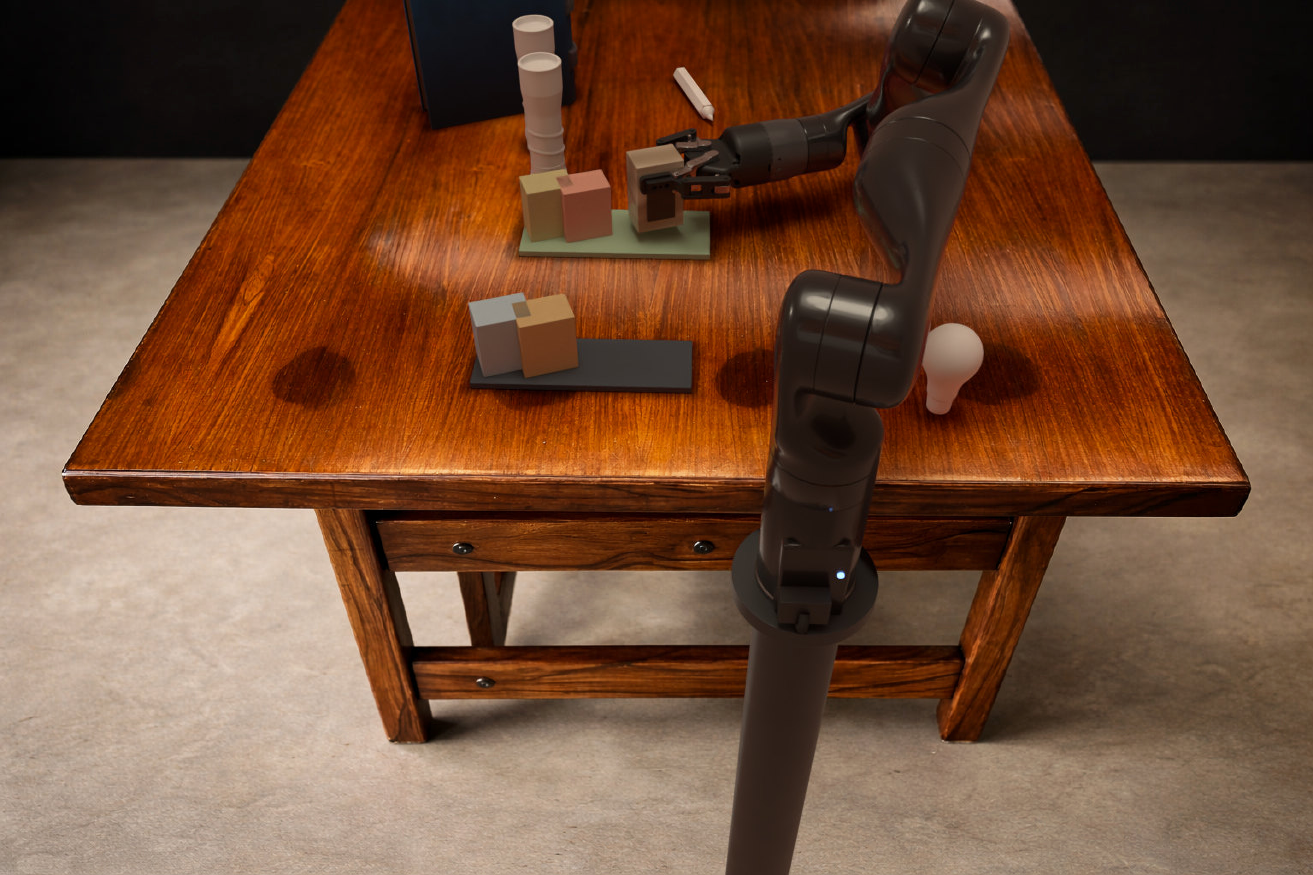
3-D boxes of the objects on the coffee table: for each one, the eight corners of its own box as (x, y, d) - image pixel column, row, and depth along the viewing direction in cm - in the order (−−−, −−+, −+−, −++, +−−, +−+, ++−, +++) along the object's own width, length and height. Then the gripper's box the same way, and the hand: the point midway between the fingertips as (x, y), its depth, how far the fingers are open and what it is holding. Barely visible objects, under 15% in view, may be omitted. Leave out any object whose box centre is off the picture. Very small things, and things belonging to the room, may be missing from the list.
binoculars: (571, 197, 139) (563, 69, 126) (531, 200, 138) (518, 72, 125) (560, 135, 151) (551, 13, 138) (523, 138, 150) (511, 16, 138)
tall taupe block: (684, 226, 129) (684, 161, 123) (639, 234, 128) (637, 169, 122) (672, 207, 132) (672, 143, 126) (628, 215, 131) (625, 151, 125)
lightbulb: (978, 417, 108) (1003, 336, 100) (935, 439, 105) (956, 357, 98) (938, 385, 111) (958, 303, 104) (895, 405, 109) (913, 323, 101)
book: (568, 78, 164) (553, -130, 143) (585, 101, 158) (573, -111, 137) (419, 104, 158) (381, -108, 137) (432, 130, 152) (394, -88, 131)
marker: (711, 131, 153) (678, 83, 164) (723, 123, 153) (689, 76, 163) (704, 118, 151) (670, 71, 162) (715, 110, 151) (681, 63, 162)
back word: (709, 260, 128) (711, 205, 123) (518, 256, 129) (512, 202, 123) (709, 216, 135) (711, 163, 130) (528, 213, 136) (523, 160, 130)
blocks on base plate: (691, 393, 110) (693, 337, 105) (470, 388, 111) (460, 332, 106) (692, 346, 116) (693, 290, 111) (481, 341, 117) (472, 286, 111)
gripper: (744, 99, 131) (616, 119, 127) (788, 153, 121) (651, 176, 117) (741, 152, 136) (618, 173, 132) (783, 208, 126) (652, 232, 122)
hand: (634, 175), depth 125 cm, fingers closed on tall taupe block, 4 cm apart
